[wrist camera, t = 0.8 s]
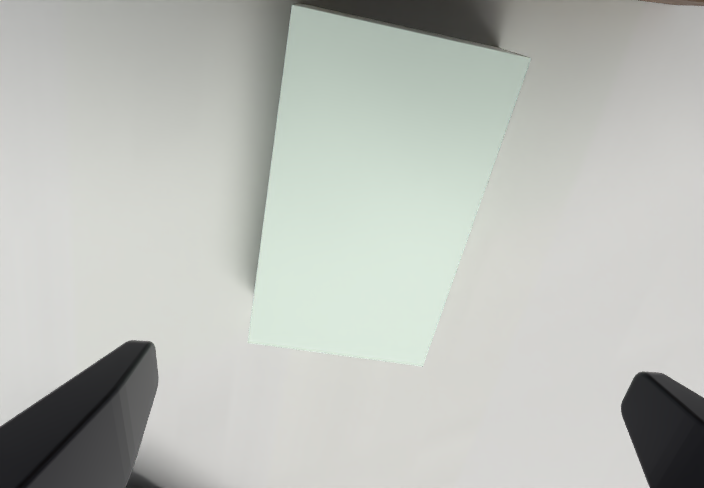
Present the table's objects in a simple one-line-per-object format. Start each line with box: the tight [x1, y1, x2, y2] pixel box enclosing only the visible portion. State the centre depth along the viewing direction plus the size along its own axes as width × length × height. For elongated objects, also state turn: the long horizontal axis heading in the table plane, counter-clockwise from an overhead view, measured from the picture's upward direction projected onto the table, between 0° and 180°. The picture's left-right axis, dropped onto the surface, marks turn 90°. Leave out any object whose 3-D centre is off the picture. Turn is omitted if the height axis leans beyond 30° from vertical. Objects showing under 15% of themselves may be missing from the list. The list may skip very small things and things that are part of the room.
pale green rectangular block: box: [248, 3, 531, 367], centre depth 16 cm, size 6×11×3 cm, turn 168°
